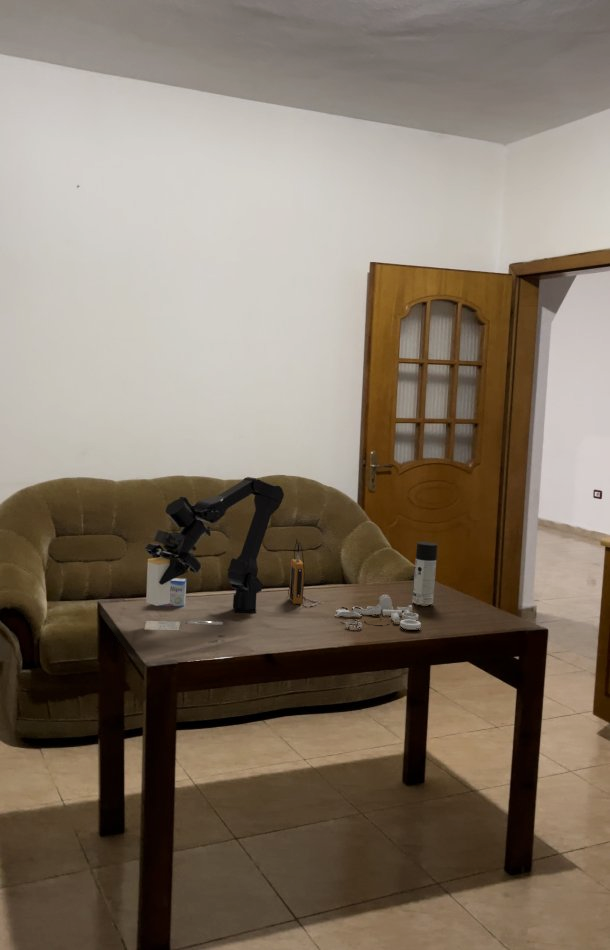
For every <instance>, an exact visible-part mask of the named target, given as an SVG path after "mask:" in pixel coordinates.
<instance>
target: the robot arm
mask: <svg viewBox="0 0 610 950" xmlns="http://www.w3.org/2000/svg"><path fill="white" fill-rule="evenodd" d="M250 495H253V497H254V498H253V502H254V508H255V511H254V514H253V517H252V520H251V523H250V525H249V528H248V532H247V535H246V536H245V537H246V538H245V540H244V543H243V547H242V549H241V552H240V555H239V556H238V557H237V558H234V557H233V558H231V560H230V563H229V565H228V566H229V567H228V568H227V570H226V571H227V580H228V581H229V584H230V585H229V586H230V588H231V589H234V590H235V591H234V593H233V595H232V609H234V613H257V594H258V593H260V592H262V589H263V587H264V584H263V583H262V582H261V580H260V579H259V578H258V571H259V568H258V561H257V558H258V556H259V553H260V550H261V546H262V545H263V541H264V537H265V535H266V531H267V529H268V527H269V523H270V519H271V517H272V515H273V514H274V513H275V512H276V511H277V510H278V509H279V508H280V506H281V504H282V502H283V500H284V497H285V492H284V490H283V487H281V486H280V485H276V484H272V483H271V484H270V483H267V482H265V481H263V480H261V479H259V478H256V477H252V476H251V477H250V476H247V477H244V478H243V479H242V480H241V481H240V482H238V483H237V484H235V485H233V486H231V487H229V488H228V489H227V490H225V491H223V492H222V493H219V494H218V495H216V496H213V497H211V496H210V497H206V498H203V499H200V500H198V501H197V502H195V504H194V505H192V504H191V503H190V502H189V500H188V498H186V496H180V497H179V498H178V499H175V500H173V501H172V502H171V503H168V505H167V506H166V508H165V514H167V516H168V517H169V518H170V519H171V521H172V522H173V523H174V524H175V525H176V526H177V528H181V529H180V531H179V532H178V531H175V530H173V531H172V532H168V531H164V530H161V529H160V530H159V529H157V532H156V534H155V536H154V539H153V541H154V542H156V543H154V542H150V543H148V544H147V545H146V547H144V551H146V552H147V554H148V555H149V556H150V557H151V559H152V558H159V557H162V558H165V559H169V560H170V565H169V567H168V569H167V570H166V572H165V573H164V575H163V576H162V578H161V580H160V581H159V583H160V584H161V585H163V584H164V583H166V582H168V581H170V580H172V579H174V578H177V577H178V578H179V577H180V576H182V575H184V574H188V573H189V571H190V572H191V573H192V574H198V573H199V572H200V571H201V569H202V563H201V562H200V560H198V558H197V557H196V556H195V555H194V553H192V552H195V551H196V550H197V549H198V548H197V547H196V545H197V544H198V542H199V541H200V539H201V538H202V537H203V536H207V537H210V536H211V530H210V528H211V526H209V525H206V524H205V523H210V524H216V523H218V522H219V521H220V520H221V519H222V518H223V517H224V516H225V515H226V512H227V511H228V509H229V508H231V507H233V506H235V505H236V504H238V503H239V502H241V501H242V500H244V499H246V498H248V497H249V496H250ZM204 522H205V523H204ZM157 543H160V544H162V546H161V545H160V544H157ZM188 569H189V571H188Z"/></svg>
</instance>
